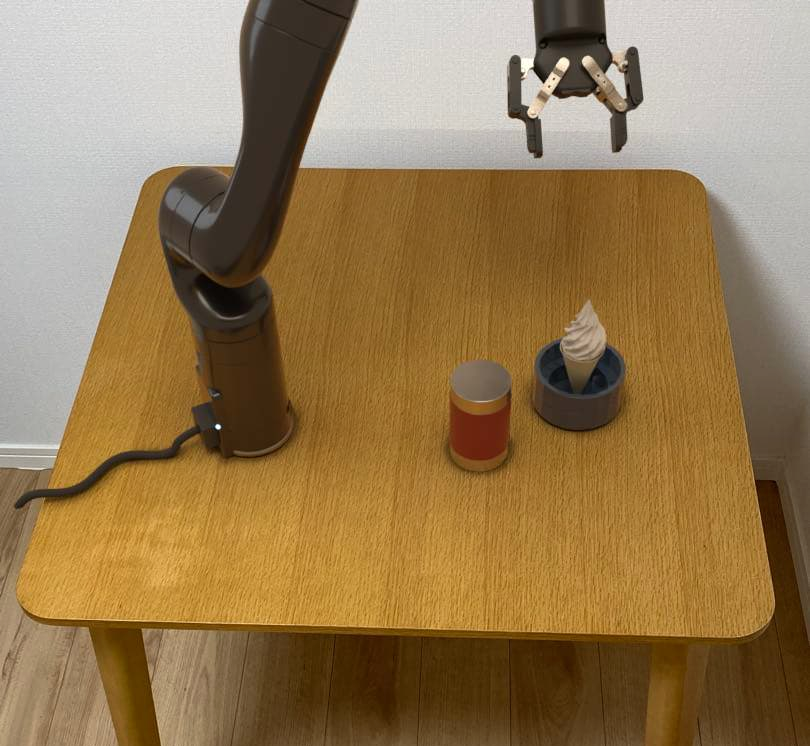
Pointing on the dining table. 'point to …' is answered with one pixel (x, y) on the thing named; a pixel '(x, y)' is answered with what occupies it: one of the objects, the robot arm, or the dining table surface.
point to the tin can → (479, 415)
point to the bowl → (574, 409)
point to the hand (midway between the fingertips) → (578, 154)
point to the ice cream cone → (583, 347)
